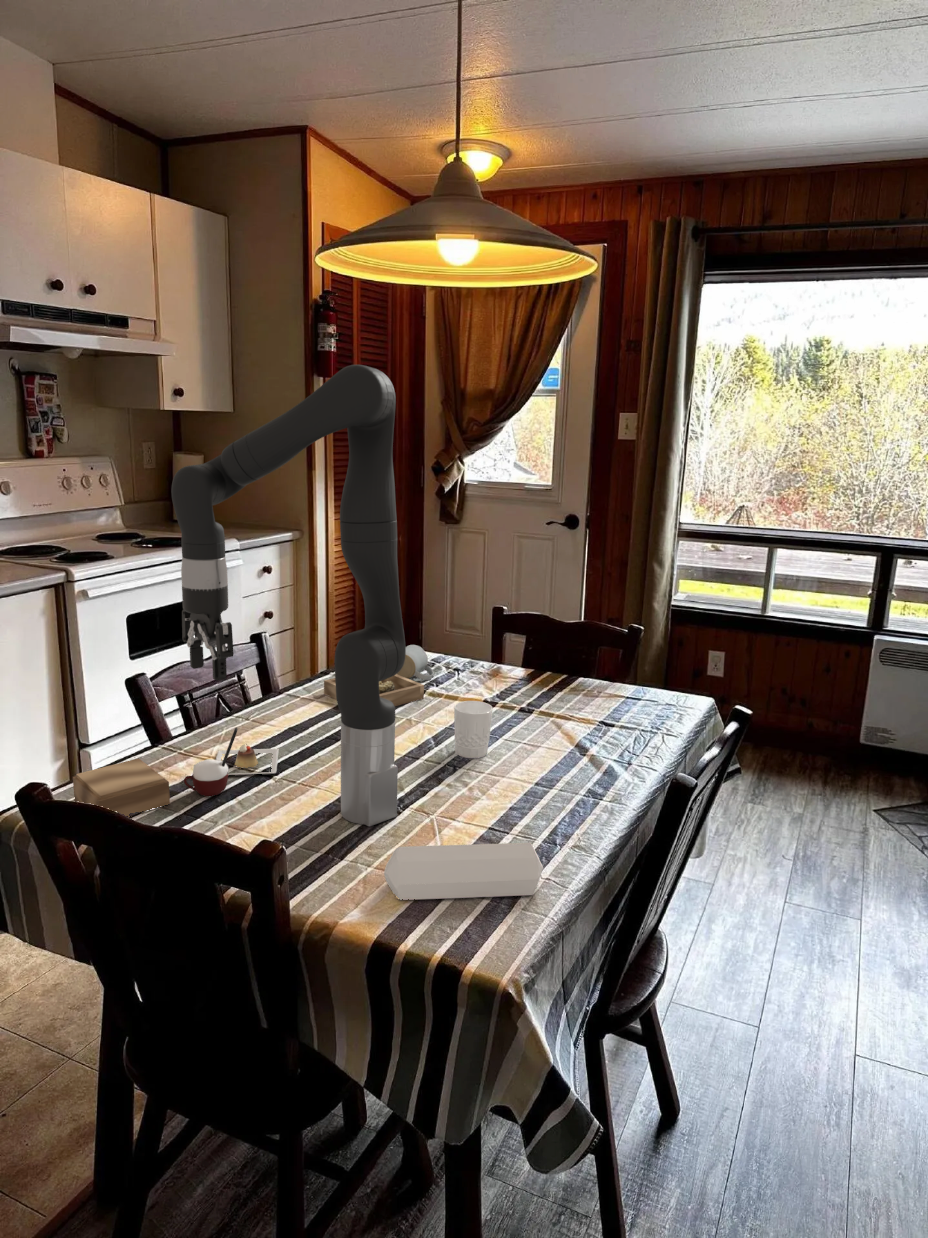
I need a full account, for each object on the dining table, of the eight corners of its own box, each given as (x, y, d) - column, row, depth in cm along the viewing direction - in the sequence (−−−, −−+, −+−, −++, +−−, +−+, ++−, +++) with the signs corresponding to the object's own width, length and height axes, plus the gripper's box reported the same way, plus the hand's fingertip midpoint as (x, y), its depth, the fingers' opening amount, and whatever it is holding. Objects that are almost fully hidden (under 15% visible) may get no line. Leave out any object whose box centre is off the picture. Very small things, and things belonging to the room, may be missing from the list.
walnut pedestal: (170, 804, 147) (168, 778, 146) (100, 825, 139) (98, 798, 138) (141, 781, 156) (140, 756, 155) (74, 800, 148) (72, 773, 147)
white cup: (444, 751, 175) (446, 706, 172) (470, 742, 181) (472, 698, 178) (472, 763, 170) (474, 716, 167) (498, 753, 175) (500, 707, 173)
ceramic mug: (389, 678, 221) (390, 650, 219) (401, 669, 228) (403, 642, 226) (426, 684, 218) (427, 656, 216) (438, 675, 225) (439, 648, 223)
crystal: (385, 888, 118) (552, 881, 121) (384, 842, 123) (544, 838, 126) (383, 913, 123) (543, 906, 126) (382, 868, 128) (536, 863, 131)
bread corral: (423, 698, 206) (424, 685, 205) (366, 713, 195) (366, 699, 194) (380, 680, 218) (380, 667, 218) (324, 694, 207) (324, 680, 206)
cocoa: (181, 798, 151) (174, 737, 148) (198, 783, 157) (192, 723, 153) (231, 802, 149) (225, 740, 146) (246, 786, 155) (240, 726, 152)
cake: (385, 707, 202) (385, 686, 200) (348, 701, 205) (347, 681, 203) (402, 692, 211) (402, 672, 209) (366, 686, 214) (366, 667, 212)
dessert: (278, 753, 172) (278, 731, 171) (276, 778, 161) (275, 754, 160) (218, 755, 170) (217, 733, 169) (211, 780, 159) (210, 757, 158)
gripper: (245, 587, 141) (247, 679, 145) (205, 573, 151) (209, 660, 155) (203, 593, 136) (207, 688, 140) (165, 578, 146) (169, 667, 150)
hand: (208, 673), depth 147 cm, fingers open, 8 cm apart
